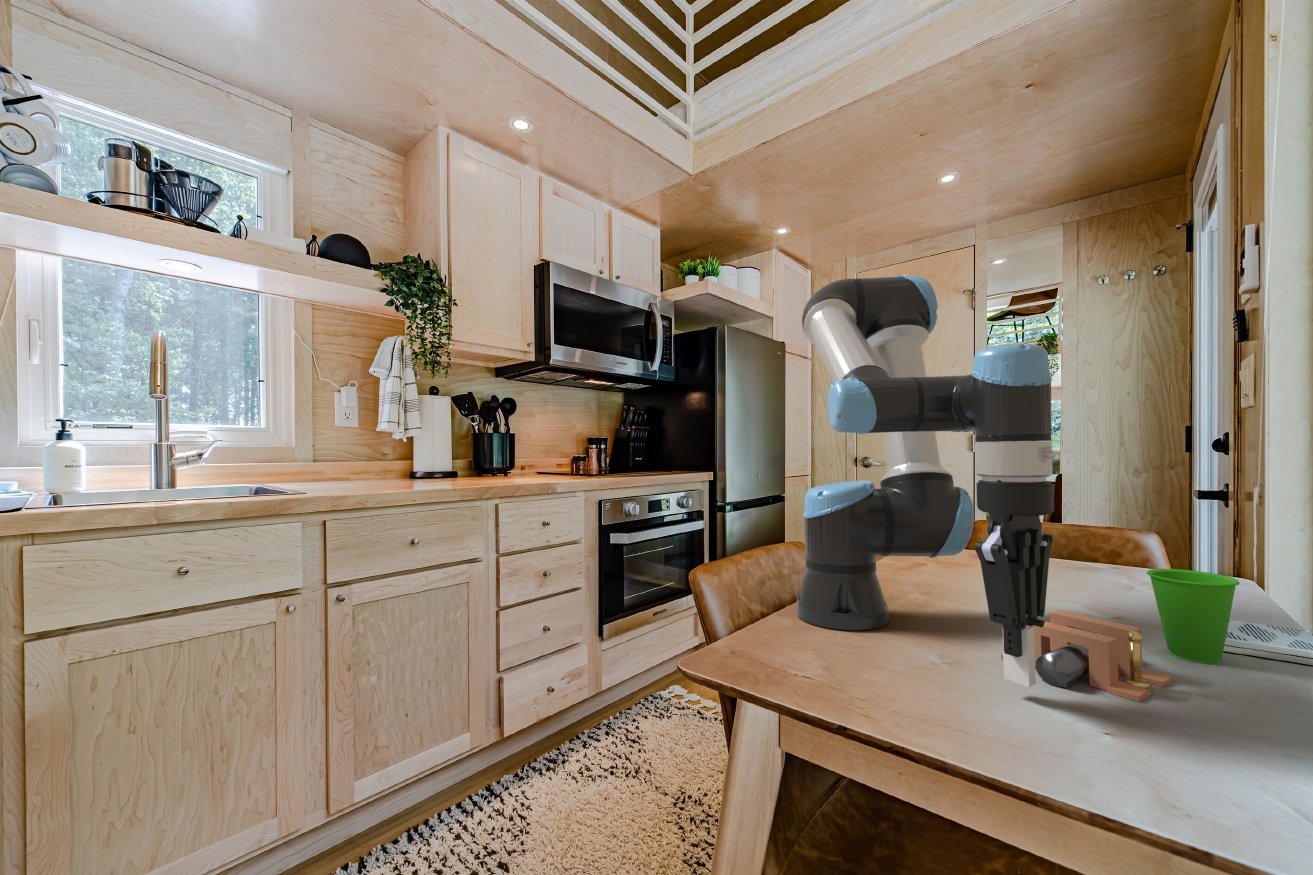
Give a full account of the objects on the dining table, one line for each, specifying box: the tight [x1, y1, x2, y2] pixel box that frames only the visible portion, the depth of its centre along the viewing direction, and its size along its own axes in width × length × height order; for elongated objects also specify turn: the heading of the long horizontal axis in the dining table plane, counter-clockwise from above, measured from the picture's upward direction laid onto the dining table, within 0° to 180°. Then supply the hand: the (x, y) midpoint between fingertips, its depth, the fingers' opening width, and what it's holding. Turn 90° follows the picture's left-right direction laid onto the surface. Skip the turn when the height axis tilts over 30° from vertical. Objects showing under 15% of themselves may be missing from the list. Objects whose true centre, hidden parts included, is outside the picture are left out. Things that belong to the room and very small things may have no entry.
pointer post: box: [1122, 631, 1151, 690], centre depth 65 cm, size 2×2×6 cm
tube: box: [1035, 632, 1114, 689], centre depth 69 cm, size 16×4×4 cm, turn 120°
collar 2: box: [1049, 609, 1174, 688], centre depth 72 cm, size 15×3×6 cm, turn 30°
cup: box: [1146, 568, 1240, 665], centre depth 73 cm, size 9×9×11 cm
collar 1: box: [1000, 621, 1151, 703], centre depth 68 cm, size 15×3×6 cm, turn 30°
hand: (1019, 681), depth 62 cm, fingers closed
